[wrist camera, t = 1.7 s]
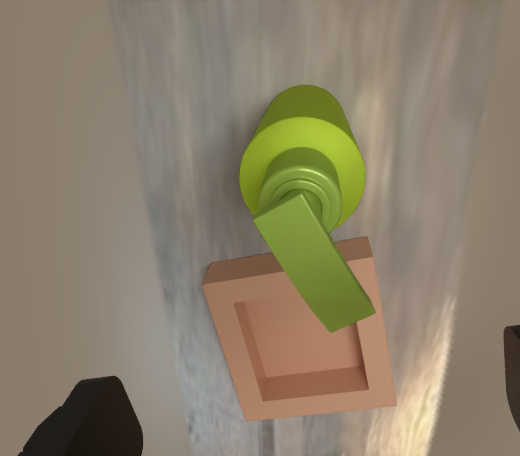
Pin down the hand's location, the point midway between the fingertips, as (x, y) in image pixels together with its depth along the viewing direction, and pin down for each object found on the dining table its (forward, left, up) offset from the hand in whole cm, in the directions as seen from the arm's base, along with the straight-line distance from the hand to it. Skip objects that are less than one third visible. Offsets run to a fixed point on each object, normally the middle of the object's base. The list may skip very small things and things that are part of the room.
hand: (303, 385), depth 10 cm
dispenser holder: (+16, -3, -26) cm, 31 cm away
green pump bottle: (0, 0, -26) cm, 26 cm away
